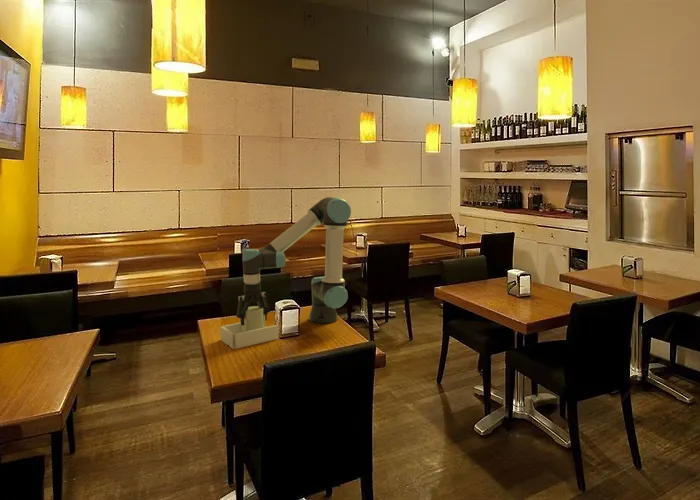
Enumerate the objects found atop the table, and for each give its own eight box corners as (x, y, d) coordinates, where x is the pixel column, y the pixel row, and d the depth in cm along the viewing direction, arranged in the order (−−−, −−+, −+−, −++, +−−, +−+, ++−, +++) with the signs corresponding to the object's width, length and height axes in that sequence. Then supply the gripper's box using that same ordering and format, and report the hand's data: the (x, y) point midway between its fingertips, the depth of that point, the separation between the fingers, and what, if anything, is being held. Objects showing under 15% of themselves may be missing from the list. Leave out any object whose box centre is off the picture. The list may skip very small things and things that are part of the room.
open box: (264, 330, 229) (264, 317, 228) (278, 338, 217) (278, 325, 216) (221, 339, 217) (220, 326, 216) (233, 349, 205) (232, 335, 204)
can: (262, 335, 213) (261, 310, 212) (242, 335, 214) (240, 310, 212) (266, 329, 222) (265, 305, 221) (247, 329, 223) (245, 305, 221)
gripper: (269, 278, 224) (271, 323, 227) (226, 284, 211) (229, 332, 215) (276, 280, 218) (278, 326, 221) (232, 287, 205) (235, 336, 209)
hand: (254, 329), depth 218 cm, fingers closed on can, 9 cm apart
